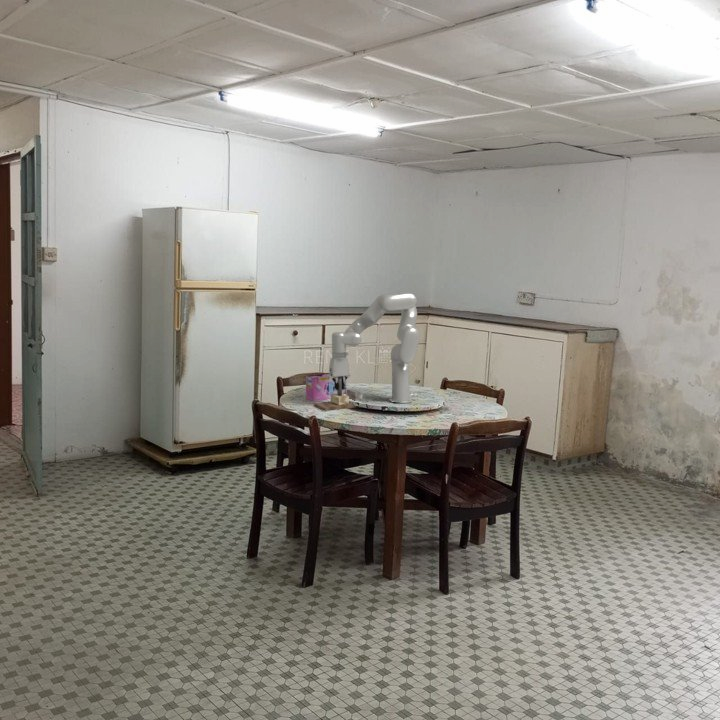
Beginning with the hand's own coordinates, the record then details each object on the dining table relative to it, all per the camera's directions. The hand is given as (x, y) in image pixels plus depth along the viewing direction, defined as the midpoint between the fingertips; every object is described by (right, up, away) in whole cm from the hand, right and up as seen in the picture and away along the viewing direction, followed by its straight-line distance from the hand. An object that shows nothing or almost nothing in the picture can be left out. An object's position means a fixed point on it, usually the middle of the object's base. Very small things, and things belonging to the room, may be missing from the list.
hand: (339, 389), depth 390 cm
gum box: (-8, -6, +23) cm, 25 cm away
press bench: (0, -9, +1) cm, 9 cm away
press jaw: (0, -7, +1) cm, 7 cm away
